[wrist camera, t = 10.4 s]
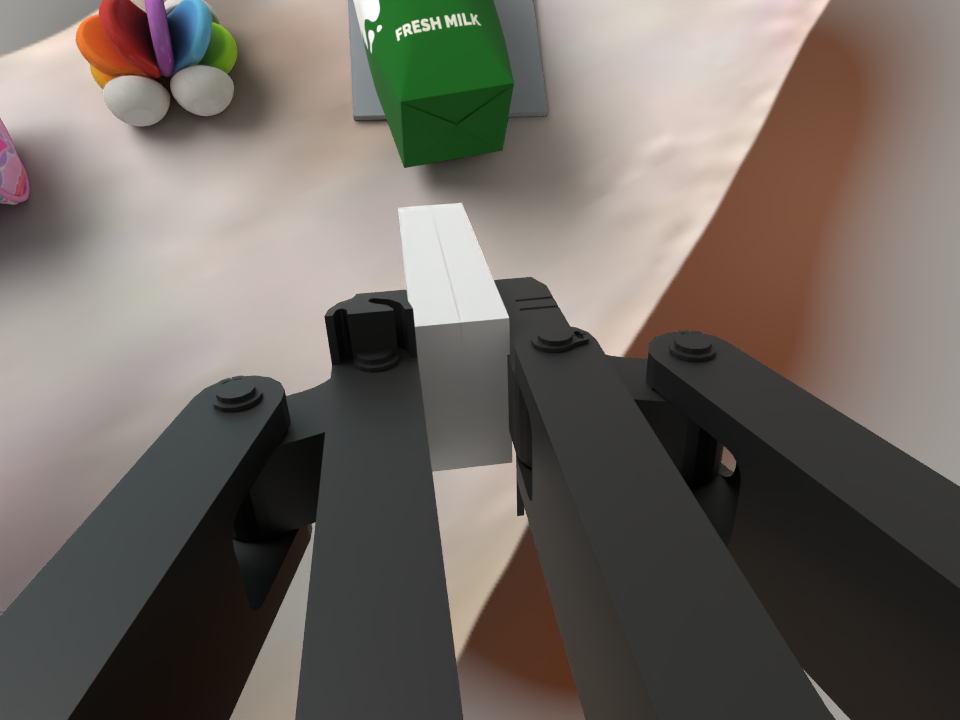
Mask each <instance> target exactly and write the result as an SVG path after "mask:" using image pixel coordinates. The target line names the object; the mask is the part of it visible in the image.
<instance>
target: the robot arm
mask: <svg viewBox="0 0 960 720" xmlns="http://www.w3.org/2000/svg"><path fill="white" fill-rule="evenodd" d="M398 212H399V223H400V233H401V244H402V254H403V264H404V275H405V285H406V290H398V291H386V292H375V293H363V294H356V295H355V296H354V297H353V298H352V299H349V300H346V301H343V302H340V303H338V304H336V305H335V306H333V307H332V308H330V309H329V310H328V311H327V313H326V315H325V316H324V317H325V323H326V329H327V335H328V342H329V348H330V354H331V361H332V372H331V378H330V379H329V380H327V381H326V382H325V383H323V384H321V385H319V386H317V387H315V388H312V389H309V390H306V391H303V392H300V393H296V394H292V395H289V396H286V395H285V390H284V388H283V386H282V385H281V383H280V382H278V381H276V380H274V379H272V378H269V377H262V376H245V377H244V376H236V377H232V379H230V378H228V379H224V380H221V381H220V382H218V383H216V384H214V385H212V386H210V387H208V388H205V389H204V390H203V391H201V392H200V393H199V394H198V395H196V396H195V397H194V398H193V399H192V400H191V401H190V403H189V404H188V405H187V406H186V407H185V408H184V409H183V410H182V412H181V413H180V414H179V415H178V416H177V417H176V418H175V420H174V421H173V422H172V423H171V424H170V425H169V426H168V427H167V429H166V430H165V431H164V432H163V433H162V434H161V435H160V437H159V438H158V439H157V440H156V441H155V442H154V443H153V444H152V446H151V447H150V448H149V449H148V450H147V451H146V452H145V454H144V455H143V456H142V457H141V458H140V459H139V460H138V461H137V463H136V464H135V465H134V466H133V467H132V468H131V469H130V471H129V472H128V473H127V474H126V475H125V476H124V477H123V478H122V480H121V481H120V482H119V483H118V484H117V485H116V486H115V488H114V489H113V490H112V491H111V492H110V493H109V494H108V495H107V497H106V498H105V499H104V500H103V501H102V502H101V503H100V504H99V506H98V507H97V508H96V509H95V510H94V511H93V512H92V514H91V515H90V516H89V517H88V518H87V519H86V520H85V521H84V523H83V524H82V525H81V526H80V527H79V528H78V529H77V531H76V532H75V533H74V534H73V535H72V536H71V537H70V538H69V540H68V541H67V542H66V543H65V544H64V545H63V546H62V548H61V549H60V550H59V551H58V552H57V553H56V554H55V555H54V557H53V558H52V559H51V560H50V561H49V562H48V563H47V565H46V566H45V567H44V568H43V569H42V570H41V571H40V572H39V574H38V575H37V576H36V577H35V578H34V579H33V580H32V581H31V583H30V584H29V585H28V586H27V587H26V588H25V589H24V591H23V592H22V593H21V594H20V595H19V596H18V597H17V598H16V600H15V601H14V602H13V603H12V604H11V605H10V606H9V608H8V609H7V610H6V611H5V612H4V613H3V614H2V615H1V617H0V720H229V719H230V717H231V715H232V712H233V710H234V708H235V706H236V703H237V701H238V699H239V697H240V695H241V692H242V690H243V688H244V686H245V684H246V681H247V679H248V677H249V675H250V672H251V670H252V668H253V666H254V664H255V661H256V659H257V657H258V655H259V652H260V650H261V648H262V646H263V644H264V641H265V639H266V637H267V635H268V632H269V630H270V628H271V626H272V624H273V621H274V619H275V617H276V615H277V612H278V610H279V608H280V606H281V604H282V601H283V599H284V597H285V595H286V593H287V590H288V588H289V586H290V584H291V581H292V579H293V577H294V575H295V573H296V570H297V568H298V566H299V564H300V561H301V559H302V557H303V555H304V553H305V550H306V548H307V546H308V544H309V541H310V539H311V533H312V525H311V524H312V523H315V522H316V525H315V535H314V545H313V554H312V564H311V574H310V583H309V593H308V602H307V612H306V622H305V631H304V641H303V650H302V660H301V670H300V679H299V689H298V698H297V708H296V718H295V720H463V714H462V706H461V698H460V690H459V682H458V674H457V666H456V658H455V650H454V642H453V634H452V626H451V618H450V610H449V602H448V594H447V586H446V578H445V571H444V563H443V555H442V547H441V539H440V531H439V523H438V515H437V507H436V499H435V491H434V483H433V475H432V471H441V470H449V469H458V468H467V467H476V466H485V465H494V464H502V463H511V462H512V441H513V445H514V448H515V451H516V468H517V516H521V515H524V507H525V510H526V514H527V517H528V521H529V524H530V528H531V531H532V535H533V538H534V542H535V545H536V549H537V552H538V556H539V559H540V563H541V566H542V570H543V573H544V577H545V580H546V583H547V587H548V591H549V594H550V597H551V601H552V605H553V608H554V612H555V615H556V618H557V622H558V625H559V629H560V632H561V636H562V639H563V643H564V646H565V650H566V653H567V656H568V660H569V664H570V667H571V671H572V674H573V678H574V681H575V685H576V688H577V692H578V695H579V699H580V702H581V706H582V709H583V712H584V716H585V719H586V720H835V718H834V717H833V715H832V714H831V713H830V712H829V710H828V709H827V707H826V706H825V704H824V702H823V701H822V699H821V698H820V696H819V694H818V693H817V691H816V690H815V688H814V687H813V685H812V683H811V682H810V680H809V678H808V677H807V675H806V674H805V672H806V673H807V674H809V676H810V677H811V678H812V679H813V680H814V681H815V682H816V683H817V684H818V685H819V686H820V687H821V689H822V690H823V691H824V692H825V693H826V694H827V695H828V696H829V697H830V698H831V699H832V700H833V701H834V702H835V703H836V705H837V706H838V707H839V708H840V709H841V710H842V711H843V712H844V713H845V714H846V715H847V716H848V717H849V718H850V720H960V486H958V485H956V484H954V483H953V482H952V481H950V480H948V479H947V478H945V477H943V476H942V475H940V474H939V473H937V472H935V471H933V470H932V469H931V468H929V467H927V466H926V465H924V464H923V463H921V462H919V461H918V460H916V459H915V458H913V457H911V456H910V455H908V454H907V453H905V452H903V451H902V450H900V449H899V448H897V447H895V446H893V445H892V444H890V443H888V442H887V441H885V440H884V439H882V438H881V437H879V436H877V435H876V434H874V433H873V432H871V431H870V430H868V429H866V428H865V427H863V426H862V425H860V424H858V423H857V422H855V421H854V420H852V419H850V418H849V417H847V416H845V415H844V414H842V413H841V412H839V411H837V410H836V409H834V408H832V407H831V406H829V405H828V404H826V403H825V402H823V401H821V400H820V399H818V398H816V397H815V396H813V395H812V394H810V393H809V392H807V391H805V390H803V389H802V388H800V387H799V386H797V385H796V384H794V383H793V382H791V381H789V380H788V379H786V378H785V377H783V376H781V375H780V374H778V373H776V372H775V371H773V370H772V369H770V368H768V367H767V366H765V365H763V364H762V363H760V362H759V361H757V360H756V359H754V358H752V357H751V356H749V355H748V354H746V353H744V352H743V351H741V350H740V349H738V348H736V347H735V346H733V345H732V344H730V343H728V342H726V341H724V340H722V339H720V338H717V337H715V336H712V335H707V334H703V333H701V332H699V331H691V332H689V331H678V332H673V333H666V334H664V335H661V336H658V337H655V338H654V339H653V340H652V341H651V342H650V343H649V346H648V358H647V359H639V358H624V357H616V356H609V355H605V353H604V352H603V350H602V348H601V347H600V345H599V344H598V342H597V340H596V339H595V338H594V337H593V336H592V335H591V334H590V333H588V332H586V331H584V330H581V329H579V328H575V327H570V325H569V324H568V322H567V320H566V319H565V317H564V315H563V313H562V312H561V310H560V308H559V307H558V305H557V303H556V301H555V300H554V299H553V296H552V294H551V293H550V291H549V289H548V288H547V286H546V285H544V284H543V283H541V282H539V281H537V280H535V279H534V278H532V277H525V278H514V279H502V280H493V277H492V275H491V273H490V270H489V268H488V265H487V263H486V260H485V258H484V256H483V253H482V251H481V248H480V246H479V243H478V241H477V239H476V236H475V234H474V231H473V229H472V226H471V224H470V222H469V219H468V217H467V214H466V212H465V209H464V207H463V205H462V203H453V204H440V205H427V206H414V207H400V208H398ZM724 446H725V447H726V448H727V449H728V450H729V451H730V452H731V453H732V455H733V456H734V458H735V460H736V468H735V471H734V472H732V471H731V470H729V469H728V468H727V467H726V466H724V465H723V464H722V463H721V460H722V453H723V447H724ZM802 668H803V669H804V670H805V672H804V670H803V669H802Z"/></svg>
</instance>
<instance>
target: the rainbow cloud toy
mask: <svg viewBox="0 0 960 720" xmlns="http://www.w3.org/2000/svg"><path fill="white" fill-rule="evenodd" d="M145 5H146V10H145V9H144V8H142V7H140V6H139V5H136V4H134V3H133V2H131V1H130V0H103V1H102V2H101V4H100V6H99V14H98V15H94V16H91V17H89V18H87V19H86V20H84V21H83V22H82V23H81V24H80V26H79V28H78V30H77V33H76V43H77V46H78V48H79V50H80V52H81V53H82V55H83V56H84V58H85V59H86V60H87V61H88V62H89V63H90V69H91V73H92V75H93V77H94V79H95V81H96V82H97V83H98V85H99V86H100V87H101V88H102V89H103V97H104V100H105V102H106V105H107V106H108V108H109V109H110V111H111V112H112V113H113V114H114V115H115V116H116V117H117V118H118V119H120V120H121V121H123V122H125V123H127V124H130V125H134V126H150V125H152V124H155V123H157V122H158V121H160V120H161V119H162V118H163V117H164V116H165V115H166V113H167V111H168V108H169V105H170V94H169V93H168V91H167V90H166V89H165V88H164V87H163V80H162V75H163V76H165V77H172V78H171V80H170V88H171V92H172V95H173V97H174V98H175V99H176V100H177V102H178V103H179V104H180V105H181V106H182V107H183V108H184V109H186V110H187V111H189V112H191V113H193V114H196V115H200V116H212V115H215V114H218V113H220V112H222V111H223V110H224V109H225V108H226V107H227V106H228V105H229V104H230V102H231V100H232V97H233V93H234V84H233V81H232V79H231V78H230V76H229V75H228V73H229V72H230V71H231V69H232V68H233V66H234V64H235V62H236V59H237V55H238V51H237V45H236V42H235V40H234V38H233V37H232V35H231V34H230V33H229V31H228V30H226V29H225V28H224V27H223V26H221V25H220V20H219V17H218V15H217V14H216V12H215V11H214V9H213V8H212V7H211V6H210V5H209V4H208V3H207V2H206V1H205V0H167V1H166V2H165V3H164V1H163V0H145Z"/></svg>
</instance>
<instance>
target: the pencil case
mask: <svg viewBox="0 0 960 720" xmlns="http://www.w3.org/2000/svg"><path fill="white" fill-rule="evenodd" d="M29 193H30V187H29V181H28V176H27V173H26V170H25V168H24V166H23V164H22V162H21V160H20V158H19V156H18V154H17V152H16V150H15V147H14V145H13V142H12V139H11V137H10V135H9V133H8V131H7V129H6V127H5V125H4V124H3V122H2V120H1V118H0V203H1V204H11V205H16V204H18V203H20V202H23V201H26V200H27V199H28V197H29Z"/></svg>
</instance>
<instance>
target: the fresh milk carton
mask: <svg viewBox="0 0 960 720" xmlns="http://www.w3.org/2000/svg"><path fill="white" fill-rule="evenodd" d="M353 1H354V5H355V9H356V14H357V18H358V22H359V26H360V30H361V34H362V39H363V43H364V47H365V51H366V55H367V59H368V63H369V67H370V71H371V75H372V78H373V82H374V86H375V89H376V92H377V95H378V98H379V101H380V103H381V106H382V109H383V111H384V114H385V116H386V119H387V122H388V124H389V127H390V130H391V133H392V135H393V138H394V141H395V144H396V146H397V149H398V152H399V155H400V157H401V160H402V163H403V166H404V168H406V167H412V166H417V165H423V164H429V163H434V162H440V161H445V160H451V159H457V158H462V157H468V156H473V155H479V154H485V153H490V152H496V151H502V149H503V143H504V138H505V132H506V127H507V121H508V115H509V110H510V104H511V99H512V93H513V88H514V80H513V76H512V71H511V66H510V61H509V56H508V51H507V46H506V42H505V38H504V34H503V30H502V27H501V24H500V20H499V17H498V14H497V10H496V7H495V4H494V0H353Z"/></svg>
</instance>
